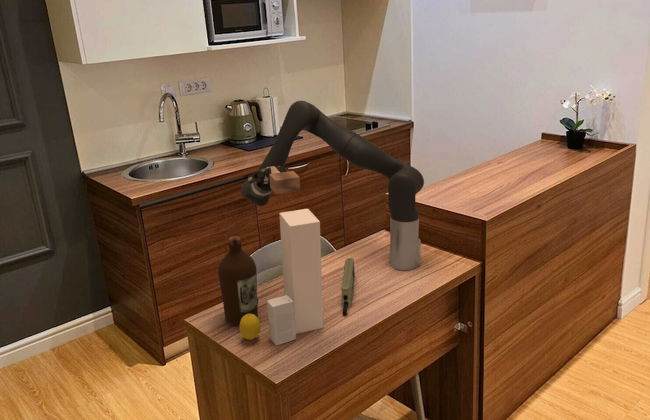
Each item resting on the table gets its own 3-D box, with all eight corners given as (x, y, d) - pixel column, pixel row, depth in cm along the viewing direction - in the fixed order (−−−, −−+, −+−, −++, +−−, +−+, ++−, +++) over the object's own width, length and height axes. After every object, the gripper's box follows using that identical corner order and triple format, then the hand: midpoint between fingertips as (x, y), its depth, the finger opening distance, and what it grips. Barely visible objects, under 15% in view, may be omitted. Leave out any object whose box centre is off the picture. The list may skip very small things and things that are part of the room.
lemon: (244, 347, 153) (241, 321, 150) (238, 336, 158) (235, 311, 155) (264, 342, 155) (262, 316, 152) (257, 331, 160) (255, 306, 157)
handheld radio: (356, 276, 189) (350, 317, 166) (346, 276, 189) (339, 317, 166) (355, 257, 186) (349, 296, 163) (344, 257, 187) (338, 297, 164)
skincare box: (289, 332, 159) (287, 293, 155) (296, 339, 156) (294, 301, 151) (269, 338, 156) (266, 299, 152) (275, 346, 153) (272, 307, 148)
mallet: (282, 171, 176) (281, 158, 175) (300, 190, 160) (299, 177, 158) (259, 174, 174) (258, 161, 173) (275, 194, 158) (275, 180, 156)
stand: (311, 310, 169) (307, 208, 158) (323, 327, 160) (319, 221, 149) (285, 315, 167) (279, 212, 155) (295, 333, 158) (290, 226, 146)
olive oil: (215, 318, 166) (206, 239, 157) (243, 303, 174) (236, 227, 165) (240, 331, 160) (232, 250, 151) (267, 315, 167) (262, 236, 158)
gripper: (241, 173, 184) (249, 160, 168) (283, 168, 189) (295, 154, 172) (245, 196, 183) (254, 185, 167) (287, 190, 188) (299, 179, 171)
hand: (274, 169), depth 170 cm, fingers closed on mallet, 2 cm apart
